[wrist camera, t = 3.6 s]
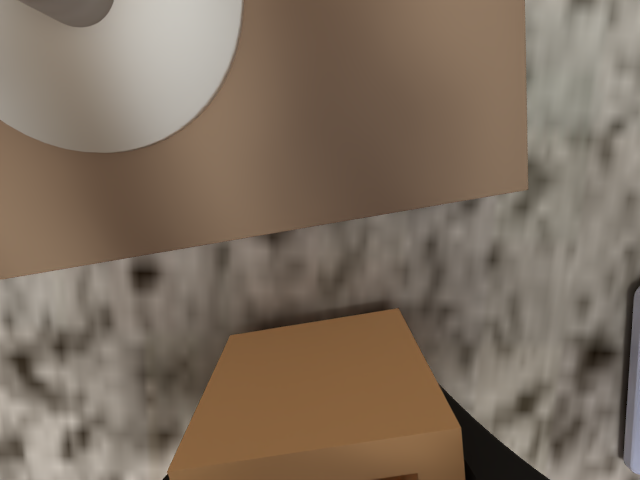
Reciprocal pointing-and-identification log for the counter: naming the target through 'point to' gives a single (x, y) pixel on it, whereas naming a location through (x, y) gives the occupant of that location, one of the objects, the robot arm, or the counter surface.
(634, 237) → the counter surface
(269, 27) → the post board
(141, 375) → the counter surface
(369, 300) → the counter surface
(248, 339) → the collar
